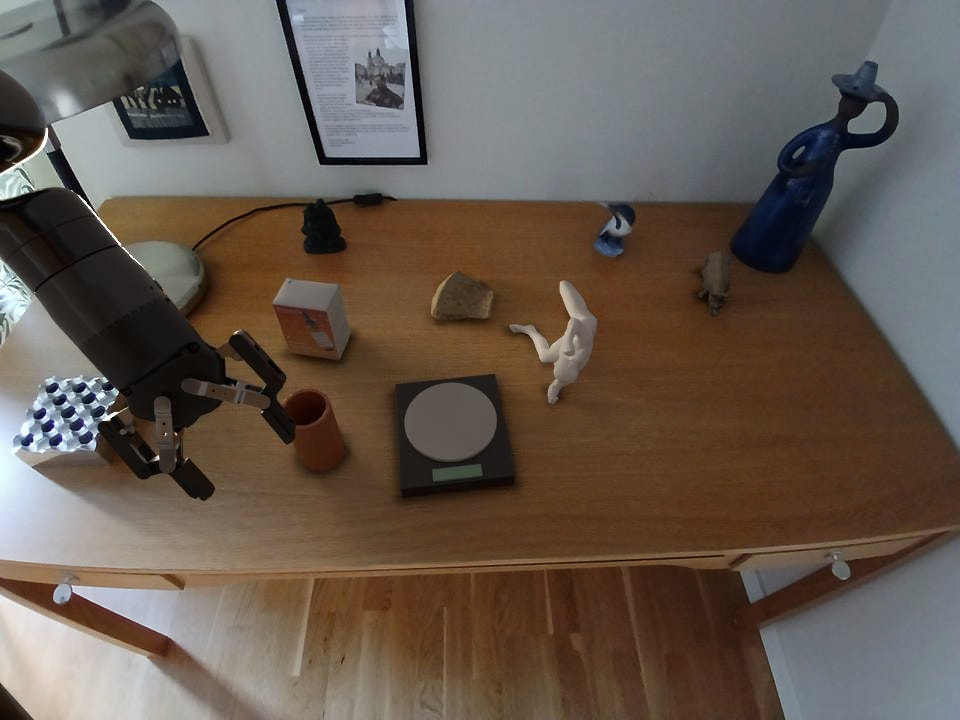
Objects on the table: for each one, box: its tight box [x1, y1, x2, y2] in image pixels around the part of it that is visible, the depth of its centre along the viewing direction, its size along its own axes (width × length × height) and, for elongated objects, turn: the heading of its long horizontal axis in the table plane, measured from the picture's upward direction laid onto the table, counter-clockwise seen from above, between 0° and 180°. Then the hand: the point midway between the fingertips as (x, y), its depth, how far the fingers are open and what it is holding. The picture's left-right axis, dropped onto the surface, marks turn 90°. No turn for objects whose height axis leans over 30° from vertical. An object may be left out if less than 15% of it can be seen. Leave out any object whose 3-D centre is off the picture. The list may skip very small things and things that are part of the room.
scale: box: [394, 373, 516, 499], centre depth 73 cm, size 16×14×3 cm
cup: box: [281, 387, 346, 472], centre depth 69 cm, size 6×6×10 cm
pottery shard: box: [430, 270, 498, 322], centre depth 89 cm, size 11×4×10 cm
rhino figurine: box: [698, 250, 731, 318], centre depth 90 cm, size 4×14×6 cm, turn 165°
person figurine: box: [509, 279, 598, 406], centre depth 80 cm, size 13×13×18 cm
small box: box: [271, 277, 352, 361], centre depth 80 cm, size 8×6×10 cm
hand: (251, 467), depth 49 cm, fingers open, 8 cm apart
